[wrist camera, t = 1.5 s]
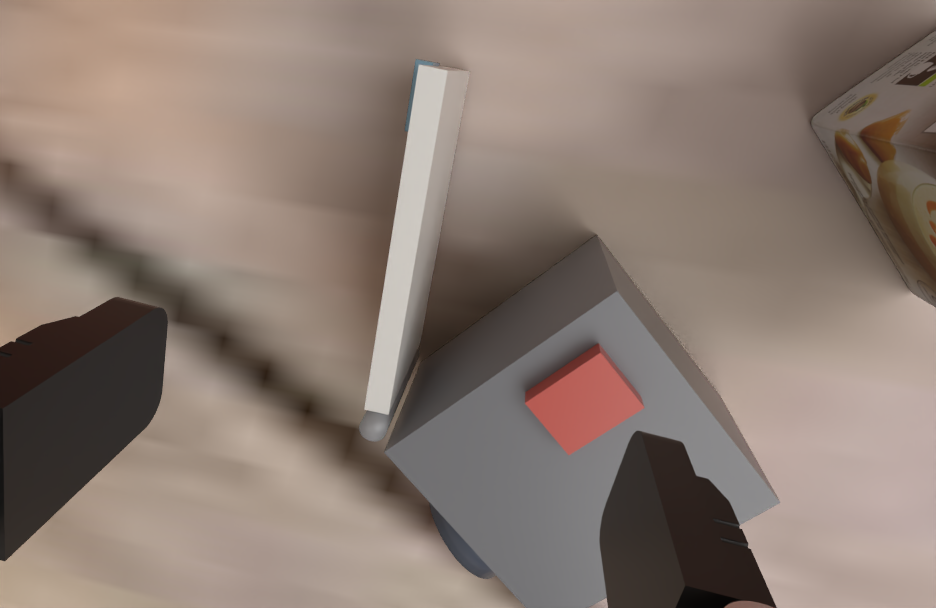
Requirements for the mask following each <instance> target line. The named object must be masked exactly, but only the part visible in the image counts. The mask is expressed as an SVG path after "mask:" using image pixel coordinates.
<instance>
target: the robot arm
mask: <svg viewBox="0 0 936 608" xmlns="http://www.w3.org/2000/svg"><path fill="white" fill-rule="evenodd" d="M167 324H168V321H167V314H166V312H165V310H164V309H162V308H160V307H156V306H152V305H148V304H144V303H140V302H136V301H132V300H128V299H124V298H120V297H115V298H112V299H110V300H108V301H107V302H105V303H103V304H101V305H100V306H98V307H96V308H94V309H93V310H91V311H89V312H87V313H86V314H84V315H82V316H80V317H76V316H75V317H71V318H67V319H63V320H59V321H55V322H51V323H47V324H43V325H41V326H39V327H37V328H35V329H33V330H31V331H29V332H28V333H26V334H24V335H22V336H20V337H18V338H16V341H15V342H12V341H11V342H9V343H7V344H5V345H4V346H2V347H0V560H2V561H6V560H7V559H8V558H9V557H10V556H11V555H12V554H13V553H14V552H15V551H16V550H17V549H18V548H19V547H20V546H22V545H23V544H24V543H25V542H26V541H27V540H28V539H29V538H30V537H31V536H32V535H33V534H34V533H35V532H36V531H37V530H38V529H39V528H40V527H42V526H43V525H44V524H45V523H46V522H47V521H48V520H49V519H50V518H51V517H52V516H53V515H54V514H55V513H56V512H57V511H58V510H59V509H61V508H62V507H63V506H64V505H65V504H66V503H67V502H68V501H69V500H70V499H71V498H72V497H73V496H74V495H75V494H76V493H77V492H78V491H80V490H81V489H82V488H83V487H84V486H85V485H86V484H87V483H88V482H89V481H90V480H91V479H92V478H93V477H94V476H95V475H96V474H97V473H98V472H100V471H101V470H102V469H103V468H104V467H105V466H106V465H107V464H108V463H109V462H110V461H111V460H112V459H113V458H114V457H115V456H116V455H117V454H119V453H120V452H121V451H122V450H123V449H124V448H125V447H126V446H127V445H128V444H129V443H130V442H131V441H132V440H133V439H134V438H135V437H136V436H137V435H139V434H140V433H141V432H142V431H143V430H144V429H145V428H146V427H147V426H148V424H149V423H150V422H151V420H152V418H153V417H154V415H155V413H156V411H157V408H158V406H159V403H160V399H161V395H162V387H163V374H164V362H165V350H166V338H167ZM739 526H740V524H739V522H738V519H737V517H736V515H735V513H734V510H733V508H732V506H731V504H730V502H729V500H728V499H727V498H726V497H725V496H724V495H723V494H722V493H721V492H720V491H719V490H718V489H717V488H716V486H715V485H714V484H713V483H712V482H711V481H710V480H709V479H707V478H703V477H699V476H696V474H695V471H694V469H693V466H692V464H691V461H690V458H689V456H688V453H687V451H686V448H685V446H684V444H683V443H682V442H681V441H678V440H674V439H670V438H666V437H662V436H658V435H654V434H650V433H646V432H642V431H636V432H635V433H634V434H633V435H632V437H631V439H630V441H629V443H628V446H627V448H626V451H625V454H624V456H623V459H622V462H621V464H620V467H619V470H618V472H617V475H616V478H615V480H614V483H613V486H612V488H611V491H610V494H609V497H608V499H607V502H606V505H605V508H604V511H603V515H602V520H601V526H600V537H599V542H600V551H601V558H602V566H603V573H604V581H605V588H606V595H607V603H608V608H777V607H776V605H775V603H774V601H773V598H772V596H771V594H770V592H769V589H768V587H767V585H766V583H765V580H764V578H763V576H762V574H761V571H760V569H759V567H758V565H757V562H756V560H755V558H754V556H753V553H752V551H751V549H749V548H748V542H747V540H746V537H745V535H744V533H743V531H742V529H739Z"/></svg>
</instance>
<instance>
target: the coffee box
mask: <svg viewBox="0 0 936 608" xmlns="http://www.w3.org/2000/svg"><path fill="white" fill-rule="evenodd" d="M811 126H812V128H813V129H814V131H815V133H816V134H817V136H818V138H819V139H820V141H821V143H822V144H823V146H824V148H825V149H826V151H827V153H828V154H829V156H830V158H831V159H832V161H833V163H834V164H835V166H836V168H837V169H838V171H839V173H840V174H841V176H842V178H843V179H844V181H845V182H846V184H847V186H848V187H849V189H850V191H851V192H852V194H853V196H854V197H855V199H856V201H857V202H858V204H859V206H860V207H861V209H862V210H863V212H864V214H865V215H866V217H867V219H868V220H869V222H870V224H871V225H872V227H873V229H874V230H875V232H876V234H877V236H878V237H879V239H880V241H881V242H882V244H883V246H884V247H885V249H886V251H887V252H888V254H889V256H890V258H891V259H892V261H893V262H894V264H895V266H896V267H897V269H898V271H899V272H900V274H901V276H902V277H903V279H904V281H905V282H906V284H907V286H908V287H909V289H910V290H911V292H912V293H913V294H915V295H916V296H918V297H919V298H921V299H923V300H924V301H926V302H927V303H929V304H931V305H933V306H934V307H936V31H934V32H933V33H931V34H930V35H928V36H927V37H925V38H924V39H922V40H921V41H919V42H918V43H917V44H915V45H914V46H912V47H911V48H909V49H908V50H906V51H905V52H904V53H902V54H901V55H899V56H898V57H896V58H895V59H894V60H892V61H891V62H889V63H888V64H886V65H885V66H883V67H882V68H881V69H879V70H878V71H876V72H875V73H873V74H872V75H870V76H869V77H868V78H866V79H865V80H863V81H862V82H860V83H859V84H858V85H856V86H855V87H853V88H852V89H850V90H849V91H848V92H846V93H845V94H843V95H842V96H841V97H839V98H838V99H836V100H835V101H834V102H832V103H831V104H829V105H828V106H827V107H825V108H824V109H823V110H821V111H820V112H819V113H817V114H816V115H815V116H814V117H813V119H812V121H811Z"/></svg>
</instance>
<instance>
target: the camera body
mask: <svg viewBox="0 0 936 608" xmlns="http://www.w3.org/2000/svg"><path fill="white" fill-rule="evenodd" d="M636 431H642V432H646V433H650V434H654V435H658V436H662V437H666V438H670V439H674V440H678V441H681V442H682V443H683V444H684V446H685V448H686V451H687V453H688V456H689V458H690V461H691V464H692V466H693V469H694V471H695V474H696V476H699V477H703V478H707V479H709V480H710V481H711V482H712V483H713V484H714V485H715V486H716V488H717V489H718V490H719V491H720V492H721V493H722V494H723V495H724V496H725V497H726V498H727V499H728V500H729V502H730V504H731V506H732V508H733V510H734V513H735V515H736V517H737V519H738V522H739V524H740V525H741V524H742V523H744V522H746V521H748V520H750V519H752V518H753V517H755V516H757V515H759V514H761V513H763V512H764V511H766V510H768V509H770V508H772V507H774V506H775V505H777V504H779V503H780V501H779V499H778V497H777V496H776V494H775V492H774V490H773V489H772V487H771V485H770V483H769V481H768V480H767V478H766V476H765V474H764V473H763V471H762V469H761V467H760V465H759V464H758V462H757V460H756V458H755V457H754V455H753V453H752V451H751V449H750V448H749V446H748V444H747V442H746V441H745V439H744V437H743V435H742V433H741V432H740V430H739V428H738V426H737V425H736V423H735V421H734V419H733V417H732V416H731V414H730V412H729V410H728V409H727V407H726V405H725V403H724V402H723V400H722V398H721V397H720V395H719V394H718V393H717V391H716V390H715V389H714V387H713V386H712V385H711V383H710V382H709V381H708V380H707V378H706V377H705V376H704V374H703V373H702V372H701V370H700V369H699V368H698V366H697V365H696V364H695V363H694V361H693V360H692V359H691V357H690V356H689V355H688V353H687V352H686V351H685V349H684V348H683V347H682V345H681V344H680V343H679V342H678V340H677V339H676V338H675V336H674V335H673V334H672V332H671V331H670V330H669V328H668V327H667V326H666V324H665V323H664V322H663V321H662V319H661V318H660V317H659V315H658V314H657V313H656V311H655V310H654V309H653V307H652V306H651V305H650V303H649V302H648V301H647V300H646V298H645V297H644V296H643V294H642V293H641V292H640V290H639V289H638V288H637V286H636V285H635V284H634V282H633V281H632V280H631V279H630V277H629V276H628V275H627V273H626V272H625V271H624V269H623V268H622V267H621V265H620V264H619V263H618V261H617V260H616V259H615V258H614V256H613V255H612V254H611V252H610V251H609V250H608V248H607V247H606V246H605V244H604V243H603V242H602V241H601V239H600V238H599V237H598V235H595V236H594V237H593V238H591V239H590V240H589V241H587V242H586V243H584V244H583V245H582V246H580V247H579V248H578V249H576V250H575V251H573V252H572V253H571V254H569V255H568V256H567V257H565V258H564V259H562V260H561V261H560V262H558V263H557V264H556V265H554V266H553V267H551V268H550V269H549V270H547V271H546V272H545V273H543V274H542V275H540V276H539V277H538V278H536V279H535V280H534V281H532V282H531V283H529V284H528V285H527V286H525V287H524V288H523V289H521V290H520V291H518V292H517V293H516V294H514V295H513V296H512V297H510V298H509V299H507V300H506V301H505V302H503V303H502V304H501V305H499V306H498V307H496V308H495V309H494V310H492V311H491V312H490V313H488V314H487V315H485V316H484V317H483V318H481V319H480V320H479V321H477V322H476V323H474V324H473V325H472V326H470V327H469V328H468V329H466V330H465V331H463V332H462V333H461V334H459V335H458V336H457V337H455V338H454V339H452V340H451V341H450V342H448V343H447V344H446V345H444V346H443V347H441V348H440V349H439V350H437V351H436V352H435V353H433V354H432V355H430V356H429V357H428V358H426V359H425V360H424V361H422V362H421V364H420V366H419V368H418V371H417V373H416V376H415V378H414V381H413V383H412V385H411V388H410V390H409V393H408V395H407V398H406V400H405V403H404V405H403V407H402V410H401V412H400V415H399V417H398V420H397V422H396V425H395V427H394V429H393V432H392V434H391V437H390V439H389V442H388V444H387V446H386V449H385V451H384V453H385V454H386V455H387V456H388V457H389V458H390V459H391V460H392V461H393V463H394V464H395V465H396V466H397V467H398V468H399V469H400V470H401V471H402V472H403V474H404V475H405V476H406V477H407V478H408V479H409V480H410V481H411V482H412V483H413V485H414V486H415V487H416V488H417V489H418V490H419V491H420V492H421V493H422V494H423V495H424V497H425V498H426V499H427V500H428V501H429V503H430V508H431V512H432V516H433V519H434V521H435V524H436V526H437V529H438V531H439V533H440V535H441V537H442V539H443V540H444V542H445V544H446V545H447V547H448V548H449V550H450V551H451V553H452V554H453V555H454V557H455V558H456V559H457V560H458V561H459V563H460V564H461V565H462V566H463V567H465V568H466V569H467V570H468V571H469V572H471V573H472V574H474V575H476V576H478V577H480V578H483V579H490V578H492V577H494V576H497V577H498V578H499V579H500V580H501V581H502V582H503V583H504V584H505V585H506V586H507V588H508V589H509V590H510V591H511V592H512V593H513V594H514V595H515V596H516V597H517V599H518V600H519V601H520V602H521V603H522V604H523V605H524V606H525V607H526V608H588V607H590V606H592V605H594V604H596V603H598V602H599V601H601V600H603V599H605V598H607V595H606V588H605V581H604V573H603V566H602V558H601V551H600V542H599V537H600V526H601V520H602V515H603V511H604V508H605V505H606V502H607V499H608V497H609V494H610V491H611V488H612V486H613V483H614V480H615V478H616V475H617V472H618V470H619V467H620V464H621V462H622V459H623V456H624V454H625V451H626V448H627V446H628V443H629V441H630V439H631V437H632V435H633V434H634V433H635V432H636Z"/></svg>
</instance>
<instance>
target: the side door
mask: <svg viewBox="0 0 936 608" xmlns="http://www.w3.org/2000/svg"><path fill="white" fill-rule="evenodd" d="M439 65H440V63H435V62H430V61H425V60H418V59H416V61H415V68H414V74H413V80H412V87H411V93H410V100H409V106H408V112H407V119H406V125H405V131H407V132H408V136H407V142H406V149H405V155H404V161H403V168H402V174H401V180H400V187H399V193H398V199H397V206H396V212H395V218H394V225H393V231H392V237H391V244H390V250H389V256H388V263H387V269H386V275H385V282H384V288H383V294H382V301H381V307H380V313H379V320H378V326H377V332H376V339H375V345H374V351H373V358H372V364H371V370H370V377H369V383H368V389H367V396H366V402H365V408H364V410H367V411H366V413H365V415H364V417H363V419H362V421H361V423H360V426H359V430H360V433H361V435H362V436H363V437H364V438H365V439H367V440H369V441H379V440H381V439H383V438H384V436H385V434H386V432H387V430H388V427H389V425H390V423H391V420H392V418H393V416H394V413H395V411H396V409H397V406H398V404H399V402H400V399H401V397H402V395H403V392H404V390H405V388H406V385H407V383H408V381H409V378H410V376H411V373H412V371H413V369H414V366H415V364H416V362H417V359H418V357H419V349H418V347H419V345H420V342H421V337H422V331H423V326H424V320H425V315H426V309H427V304H428V298H429V293H430V288H431V282H432V277H433V271H434V266H435V260H436V255H437V249H438V244H439V238H440V233H441V227H442V222H443V216H444V211H445V206H446V200H447V195H448V189H449V184H450V178H451V173H452V167H453V162H454V156H455V151H456V145H457V140H458V134H459V129H460V124H461V118H462V113H463V107H464V102H465V96H466V91H467V85H468V80H469V74H470V71H466V70H461V69H456V68H451V67H443V66H439Z"/></svg>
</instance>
